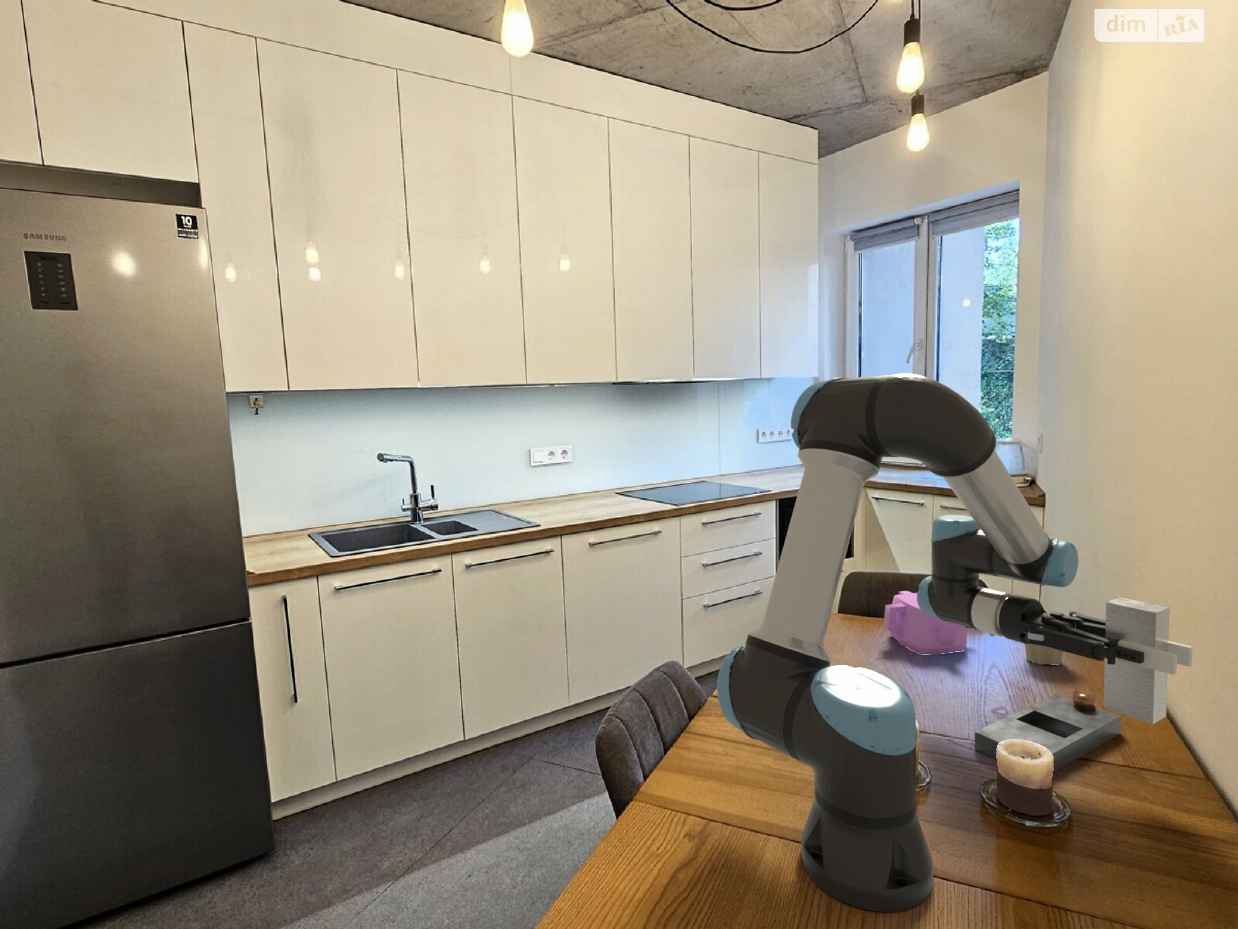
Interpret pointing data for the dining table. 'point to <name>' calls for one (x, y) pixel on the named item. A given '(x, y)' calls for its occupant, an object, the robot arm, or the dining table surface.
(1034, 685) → the dining table surface
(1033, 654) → the flower pot
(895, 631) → the teakettle
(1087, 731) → the post stand
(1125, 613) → the white rectangular block
